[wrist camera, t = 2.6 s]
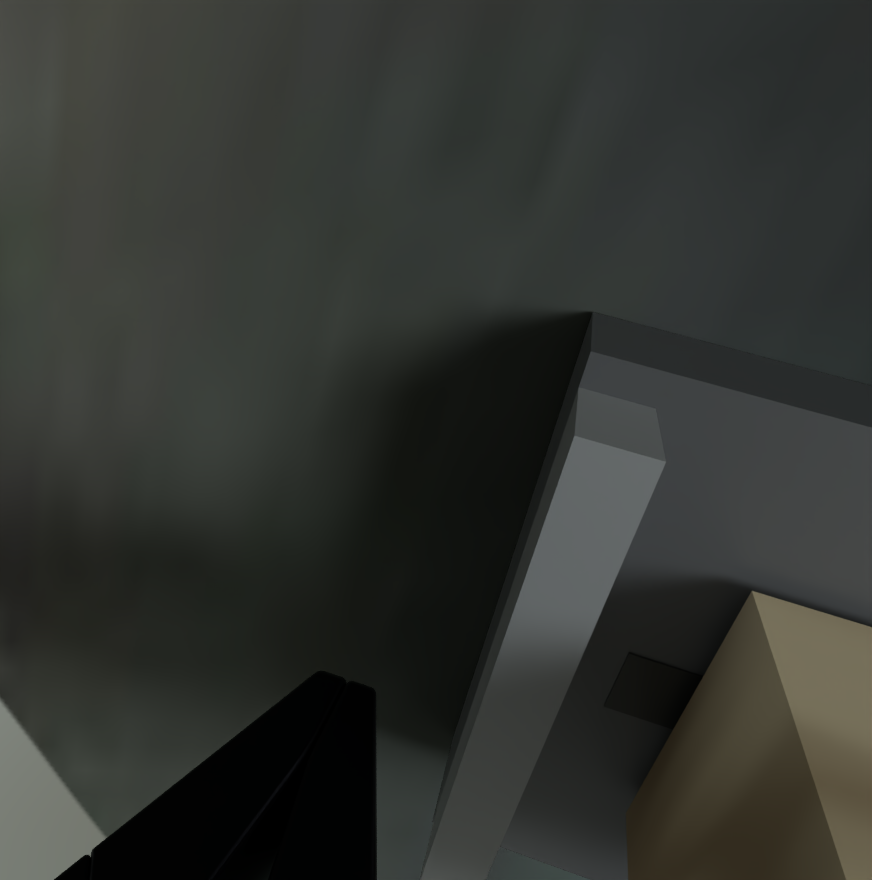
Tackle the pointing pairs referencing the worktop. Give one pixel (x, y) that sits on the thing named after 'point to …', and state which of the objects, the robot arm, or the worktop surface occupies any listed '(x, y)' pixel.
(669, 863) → the fader knob
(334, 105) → the worktop surface
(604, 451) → the fader console
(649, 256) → the worktop surface
